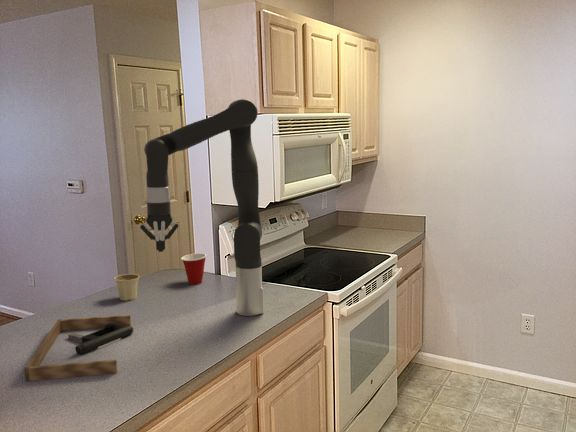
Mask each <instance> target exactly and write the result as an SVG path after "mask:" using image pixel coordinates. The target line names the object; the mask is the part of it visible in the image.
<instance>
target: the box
mask: <svg viewBox="0 0 576 432" xmlns="http://www.w3.org/2000/svg"><path fill="white" fill-rule="evenodd" d="M109 323H114V324H119V325H123V326H132V320H131V314H121V315H107V316H106V315H105V316H91V317H77V318H65V319H64V318H63V319H57V320H56V322H55V323H54V325H53V326H52V328H51V329H50V331H49V332H48V334H47V335H46V337H45V338H44V340H42V343H41V344H40V346H39V347H38V348H37V350H36V351H35V353H34V354H33V356H32V357H31V358H30V359H29V361H28V363H27V364H26V366H25V367H24V378H25V382H31V381H41V380H43V381H44V380H52V379H53V380H55V379H65V378H77V377H78V378H79V377H85V376H86V377H87V376H98V375H109V374H111V375H112V374H118V365H117V363H118V362H117V359H116V358H115V359H106V360H104V359H103V360H93V361H92V360H91V361H84V362H83V361H82V362H81V361H79V362H70V363H58V364H57V363H55V364H48V365H47V364H46V365H41V363H43V362H42V361H44V359H45V358H46V356H47V355H48V353H49V352H50V350H51V348H52V346H53V345H54V343H55V341H56V340H57V338H58V337H59V335H60V333H61V332H62V331H73V330H88V329H101V328H103V329H104V328H105V326H106V325H107V324H109Z"/></svg>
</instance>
